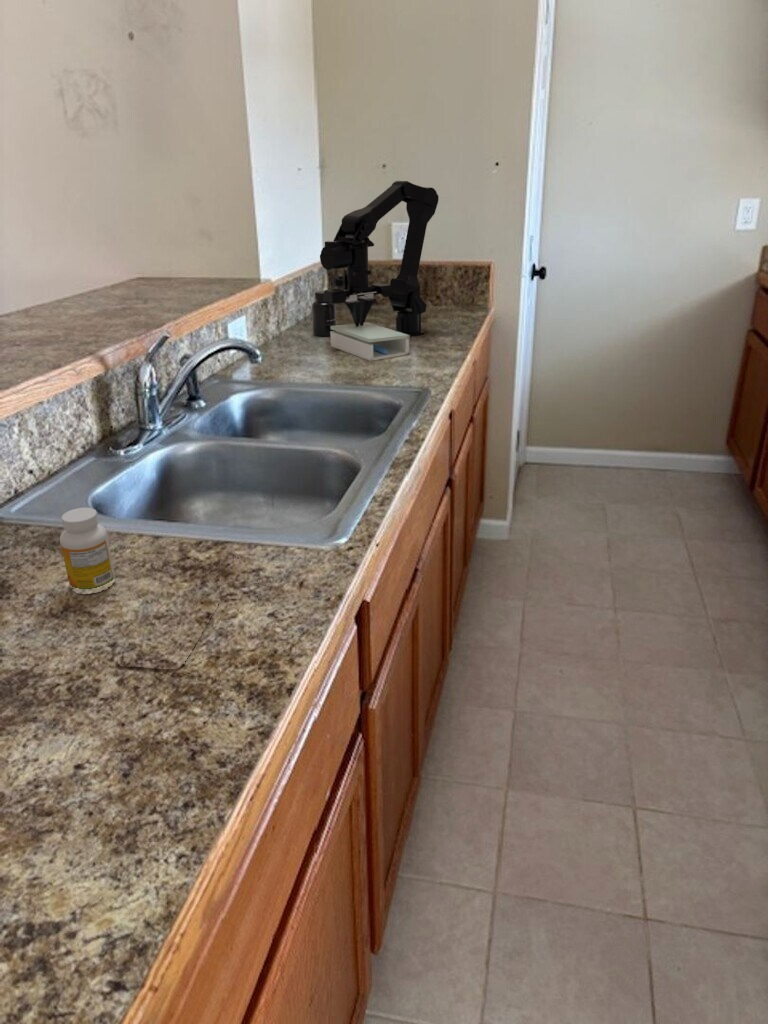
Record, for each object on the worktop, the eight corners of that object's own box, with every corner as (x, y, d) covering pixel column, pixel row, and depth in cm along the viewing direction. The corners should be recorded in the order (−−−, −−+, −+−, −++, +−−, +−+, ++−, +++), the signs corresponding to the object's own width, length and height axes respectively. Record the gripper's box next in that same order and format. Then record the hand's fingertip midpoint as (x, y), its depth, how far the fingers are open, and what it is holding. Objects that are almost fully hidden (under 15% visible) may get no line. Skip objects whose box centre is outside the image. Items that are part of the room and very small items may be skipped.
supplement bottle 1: (77, 575, 98) (62, 505, 93) (120, 572, 98) (107, 503, 94) (65, 597, 93) (48, 525, 89) (110, 594, 93) (96, 523, 89)
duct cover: (369, 325, 213) (369, 322, 212) (409, 338, 198) (410, 334, 197) (330, 329, 206) (330, 326, 206) (369, 342, 191) (369, 339, 191)
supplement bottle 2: (333, 337, 218) (331, 294, 213) (310, 336, 220) (307, 293, 214) (339, 332, 224) (337, 290, 219) (316, 331, 226) (314, 289, 221)
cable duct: (368, 340, 214) (367, 325, 213) (409, 354, 199) (409, 338, 197) (330, 346, 208) (330, 331, 207) (370, 361, 193) (369, 345, 192)
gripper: (371, 259, 211) (372, 316, 218) (311, 265, 202) (314, 325, 209) (393, 263, 203) (394, 323, 209) (332, 270, 193) (334, 332, 200)
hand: (359, 325), depth 207 cm, fingers closed
